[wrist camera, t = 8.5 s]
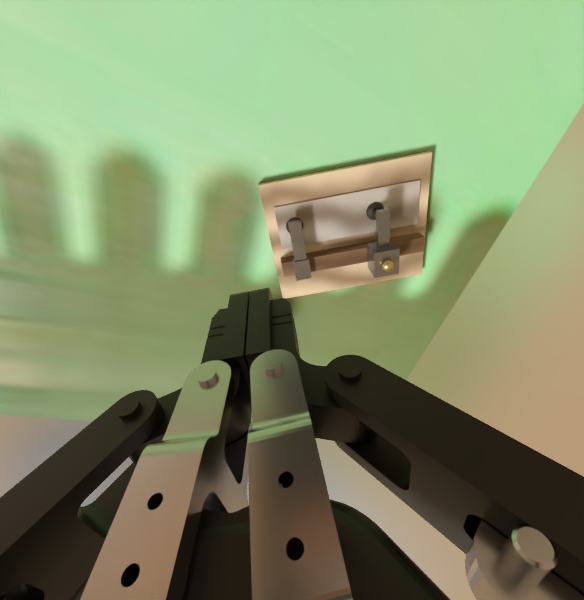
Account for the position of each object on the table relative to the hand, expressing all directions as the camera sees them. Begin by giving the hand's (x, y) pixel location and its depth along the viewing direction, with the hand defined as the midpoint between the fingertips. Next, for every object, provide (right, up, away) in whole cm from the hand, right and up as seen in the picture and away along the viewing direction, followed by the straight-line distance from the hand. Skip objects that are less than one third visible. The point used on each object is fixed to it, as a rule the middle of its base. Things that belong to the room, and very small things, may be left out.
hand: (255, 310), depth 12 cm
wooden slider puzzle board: (+10, +11, +35) cm, 39 cm away
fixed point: (+2, +9, +34) cm, 36 cm away
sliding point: (+14, +11, +34) cm, 38 cm away
